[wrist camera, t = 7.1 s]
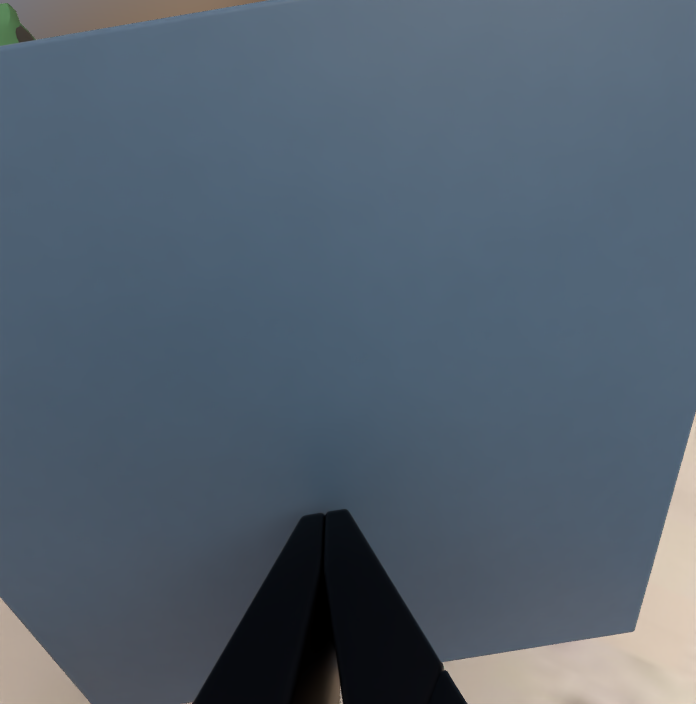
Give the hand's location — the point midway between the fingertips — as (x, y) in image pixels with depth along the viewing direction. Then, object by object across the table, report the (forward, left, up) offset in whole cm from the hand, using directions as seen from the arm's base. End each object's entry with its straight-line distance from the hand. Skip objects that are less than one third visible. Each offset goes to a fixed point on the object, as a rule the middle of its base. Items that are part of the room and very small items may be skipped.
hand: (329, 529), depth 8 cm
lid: (+1, -1, 0) cm, 1 cm away
